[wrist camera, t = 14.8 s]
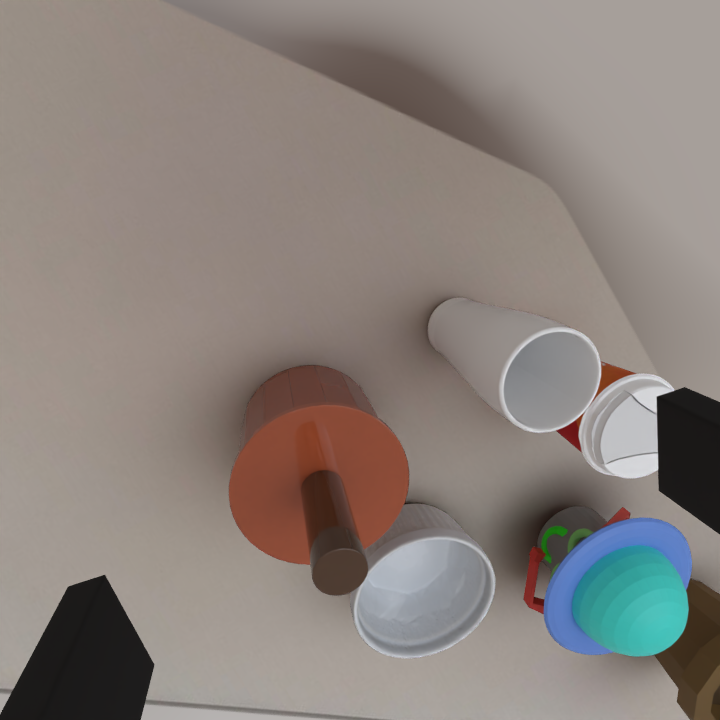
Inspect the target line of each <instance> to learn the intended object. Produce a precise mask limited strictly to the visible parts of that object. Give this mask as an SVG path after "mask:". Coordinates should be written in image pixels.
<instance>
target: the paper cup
mask: <svg viewBox="0 0 720 720" xmlns="http://www.w3.org/2000/svg"><path fill="white" fill-rule="evenodd" d="M672 391H675V390H674V389H673V388H672V386H671V385H670V384H669V383H668V382H667V381H666V380H664V379H663V378H660V377H659V376H656V375H652V374H646V373H640V374H636V373H633V372H630V371H627V370H625V369H622V368H619V367H616V366H613V365H610V364H607V363H604V362H601V379H600V384H599V387H598V390H597V393H596V395H595V397H594V399H593V401H592V402H591V404H590V405H589V407H588V408H587V409H586V411H585V412H584V413H583V414H582V415H581V416H580V417H579V418H577V419H576V420H575V421H574V422H572V423H571V424H569V425H567V426H565V427H564V428H561V429H559V430H556V431H557V432H558V433H560V434H561V435H562V436H563V437H564V438H565V439H567V440H568V441H569V442H570V443H571V444H572V445H574V446H575V447H576V448H577V449H578V450H579V451H581V452H582V453H583V456H584V458H585V459H586V461H587V462H588V464H589V465H590V466H591V467H592V468H594V469H595V470H597V471H598V472H601V473H603V474H607V475H613V476H617V477H621V478H640V477H643V476H647V475H649V474H651V473H653V472H655V471H657V470H658V438H657V396H660V395H663V394H666V393H669V392H672Z"/></svg>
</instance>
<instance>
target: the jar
mask: <svg viewBox="0 0 720 720" xmlns="http://www.w3.org/2000/svg"><path fill="white" fill-rule="evenodd" d="M317 402H337V403H344V404H349V405H352V406H356V407H359V408H361V409H363V410H366V411H368V412H370V413H371V414H373V415H375V416H376V417H377V415H376V413H375V411H374V410H373V408H372V406H371V404H370V403H369V401H368V399H367V397H366V396H365V394H364V392H363V390H362V389H361V387H360V386H359V385H358V384H356V383H355V382H354V381H353V380H352V379H351V378H350V377H348V376H346V375H345V374H343V373H341V372H339V371H337V370H335V369H331V368H328V367H323V366H315V365H307V366H299V367H294V368H290V369H287V370H284V371H282V372H280V373H278V374H276V375H274V376H273V377H271V378H270V379H268V380H267V381H266V382H265V383H264V384H262V385H261V386H260V388H259V389H258V390H257V391H256V392H255V394H254V395H253V396H252V398H251V400H250V402H249V403H248V405H247V408H246V411H245V414H244V420H243V424H242V428H241V437H240V447H239V451H240V449H241V448H242V446H243V445H244V443H245V442H246V440H247V439H248V438H249V437H250V436H251V435H252V434H253V433H254V431H255V430H257V429H258V428H259V427H260V426H261V425H262V424H264V423H265V422H266V421H268V420H269V419H271V418H272V417H274V416H276V415H278V414H280V413H282V412H284V411H286V410H288V409H291V408H294V407H297V406H300V405H305V404H309V403H317Z"/></svg>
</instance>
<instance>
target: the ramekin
mask: <svg viewBox="0 0 720 720" xmlns="http://www.w3.org/2000/svg"><path fill="white" fill-rule="evenodd" d="M364 552H365V555H366V558H367V562H368V574H367V577H366V579H365V580H364V582H363V583H362V584H361V585H360V586H359V587H358V588H357V589H355V590H354V591H352V592H351V596H350V607H351V613H352V617H353V621H354V624H355V627H356V629H357V631H358V633H359V635H360V636H361V638H362V639H363V640H364V642H365V643H366V644H367V645H369V646H370V647H371V648H372V649H374V650H375V651H377V652H379V653H381V654H384V655H387V656H390V657H395V658H419V657H425V656H429V655H433V654H436V653H439V652H441V651H443V650H446V649H448V648H450V647H452V646H453V645H455V644H457V643H458V642H460V641H461V640H463V639H464V638H465V637H466V636H468V635H469V634H470V633H471V632H472V631H473V630H474V629H475V628H476V627H477V626H478V625H479V624H480V622H481V621H482V620H483V618H484V617H485V615H486V614H487V612H488V610H489V608H490V606H491V603H492V601H493V597H494V593H495V573H494V570H493V567H492V564H491V562H490V561H489V559H488V557H487V555H486V554H485V552H484V550H483V549H482V548H481V547H480V545H479V544H478V543H477V542H476V541H474V540H473V539H472V538H471V537H469V536H468V535H467V534H466V532H465V531H464V530H463V529H462V528H461V527H460V526H459V525H458V523H457V522H456V521H455V520H454V519H453V518H452V517H451V516H449V515H448V514H447V513H445V512H444V511H442V510H440V509H438V508H435V507H433V506H430V505H426V504H405V505H403V507H402V510H401V512H400V514H399V515H398V517H397V519H396V520H395V522H394V523H393V524H392V526H391V527H390V528H389V529H388V531H387V532H386V533H385V534H384V535H383V536H382V537H381V538H379V539H378V540H377V541H376V542H375V543H373V544H372V545H371V546H369V547H367V548H366V549H364Z"/></svg>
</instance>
